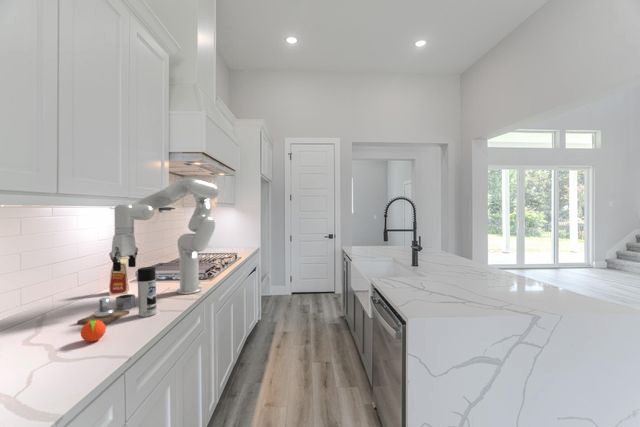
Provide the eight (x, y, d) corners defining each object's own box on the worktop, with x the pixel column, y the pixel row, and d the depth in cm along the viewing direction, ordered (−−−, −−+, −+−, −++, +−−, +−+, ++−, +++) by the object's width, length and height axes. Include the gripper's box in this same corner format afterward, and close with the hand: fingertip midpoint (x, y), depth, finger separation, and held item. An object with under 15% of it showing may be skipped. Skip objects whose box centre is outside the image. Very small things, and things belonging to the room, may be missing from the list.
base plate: (102, 312, 134) (102, 310, 134) (129, 313, 133) (129, 310, 133) (77, 324, 121) (77, 321, 121) (106, 324, 120) (106, 321, 120)
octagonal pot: (123, 304, 145) (123, 294, 145) (138, 305, 144) (138, 294, 144) (112, 309, 137) (112, 298, 137) (127, 310, 137) (127, 299, 137)
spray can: (148, 317, 127) (147, 269, 127) (134, 316, 129) (133, 269, 128) (159, 312, 134) (159, 266, 133) (146, 311, 135) (145, 266, 135)
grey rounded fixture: (103, 312, 130) (102, 296, 130) (117, 312, 130) (117, 296, 130) (90, 318, 124) (90, 301, 124) (106, 318, 123) (105, 301, 123)
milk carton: (109, 295, 160) (108, 257, 159) (109, 291, 168) (109, 255, 167) (129, 293, 165) (129, 256, 164) (129, 289, 173) (128, 253, 172)
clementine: (106, 342, 104) (105, 322, 104) (80, 348, 100) (79, 326, 100) (105, 335, 110) (105, 315, 110) (81, 339, 106) (81, 319, 106)
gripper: (129, 230, 149) (129, 265, 149) (102, 232, 132) (102, 272, 132) (144, 230, 149) (144, 265, 149) (118, 233, 131) (119, 272, 131)
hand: (124, 268), depth 140 cm, fingers open, 9 cm apart
